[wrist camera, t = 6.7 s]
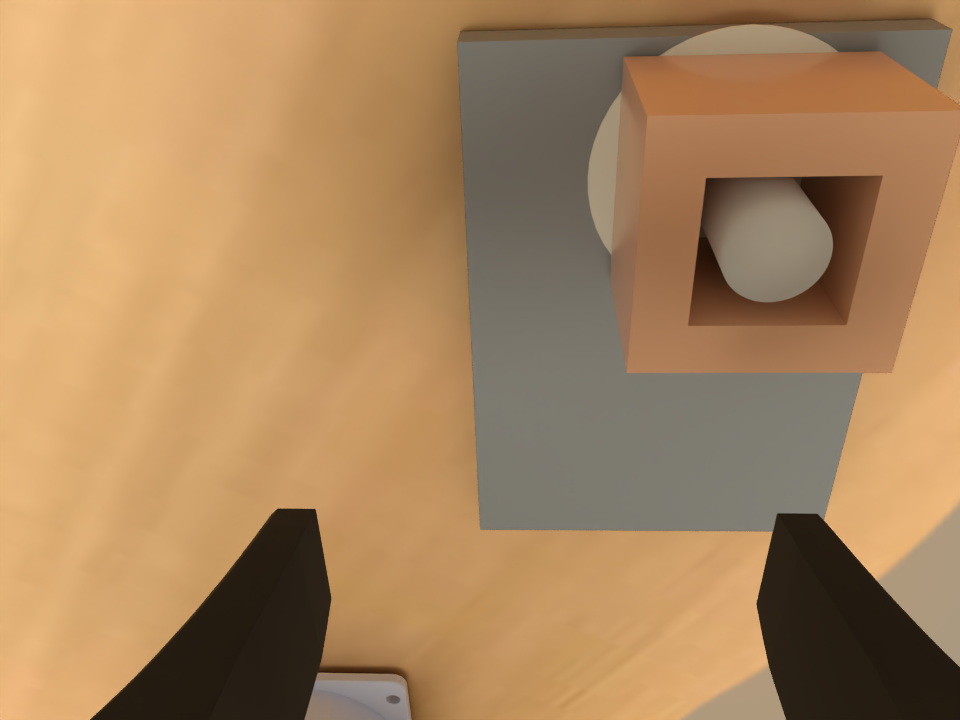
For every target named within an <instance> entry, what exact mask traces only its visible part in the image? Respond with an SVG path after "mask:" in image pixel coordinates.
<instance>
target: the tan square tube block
mask: <svg viewBox="0 0 960 720" xmlns="http://www.w3.org/2000/svg"><path fill="white" fill-rule="evenodd" d="M959 138H960V105H959V104H957V103H956V102H954V101H953V100H951V99H950V98H949V97H947V96H946V95H944V94H943V93H941V92H940V91H938V90H937V89H935V88H934V87H932V86H931V85H929V84H928V83H926V82H925V81H924V80H922V79H921V78H919V77H918V76H916V75H915V74H913V73H912V72H910V71H909V70H907V69H906V68H904V67H903V66H902V65H900V64H899V63H897V62H896V61H894V60H893V59H891V58H890V57H888V56H887V55H885V54H884V53H882V52H881V51H867V52H820V53H773V54H726V55H679V56H631V57H623V71H622V87H621V103H620V120H619V136H618V153H617V169H616V185H615V202H614V218H613V235H612V251H611V267H610V284H611V289H612V295H613V300H614V306H615V311H616V316H617V322H618V327H619V333H620V338H621V344H622V349H623V355H624V360H625V365H626V371H627V373H892V370H893V366H894V363H895V359H896V356H897V352H898V349H899V346H900V342H901V339H902V335H903V332H904V328H905V325H906V321H907V318H908V314H909V311H910V307H911V304H912V301H913V297H914V294H915V290H916V287H917V283H918V280H919V276H920V273H921V269H922V266H923V263H924V259H925V256H926V252H927V249H928V245H929V242H930V238H931V235H932V231H933V228H934V224H935V221H936V218H937V214H938V211H939V207H940V204H941V200H942V197H943V193H944V190H945V186H946V183H947V179H948V176H949V173H950V169H951V166H952V162H953V159H954V155H955V152H956V148H957V145H958V141H959ZM736 177H802V179H801V185H800V188H801V189H802V190H803V192H804V193H805V194H806V196H807V197H808V198H809V200H810V201H811V203H812V204H813V205H814V207H815V208H816V209H817V211H818V212H819V214H820V215H821V216H822V218H823V219H824V220H825V222H826V223H827V225H828V227H829V228H830V231H831V234H832V239H833V251H832V256H831V259H830V262H829V264H828V267H827V268H826V270H825V272H824V273H823V275H822V276H821V277H820V278H819V280H818V281H817V282H816V283H815V284H813V285H812V286H811V287H810V288H809V289H807V290H806V291H804V292H803V293H801V294H799V295H797V296H795V297H792V298H790V299H786V300H783V301H777V302H758V301H753V300H750V299H747V298H745V297H743V296H741V295H739V294H738V293H736V292H735V291H734V290H733V289H732V288H731V287H730V286H729V285H728V283H727V282H726V280H725V278H724V275H723V273H722V271H721V268H720V266H719V264H718V261H717V259H716V257H715V254H714V252H713V250H712V247H711V245H710V243H709V240H708V238H707V237H699V232H700V224H701V216H702V208H703V200H704V192H705V184H706V178H736Z"/></svg>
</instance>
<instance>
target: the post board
mask: <svg viewBox="0 0 960 720" xmlns="http://www.w3.org/2000/svg"><path fill="white" fill-rule="evenodd" d="M951 33H952V29H950V28H949V27H947V26H945V25H943V24H941V23H939V22H937V21H935V20H933V19H914V20H876V21H838V22H800V23H762V24H724V25H686V26H648V27H610V28H572V29H534V30H496V31H460V34H459V38H458V42H457V46H458V67H459V88H460V110H461V131H462V152H463V174H464V195H465V216H466V238H467V259H468V280H469V302H470V323H471V344H472V366H473V387H474V409H475V430H476V451H477V473H478V494H479V515H480V530H624V531H773V529H774V525H775V520H776V516H777V513H805V514H818V515H819V516H820V517H821V518H822V519H823V520H824V517H825V514H826V510H827V506H828V502H829V498H830V494H831V491H832V487H833V483H834V479H835V475H836V472H837V468H838V464H839V460H840V456H841V453H842V449H843V445H844V441H845V437H846V433H847V430H848V426H849V422H850V418H851V414H852V411H853V407H854V403H855V399H856V395H857V391H858V388H859V384H860V380H861V376H862V373H627V371H626V365H625V360H624V355H623V349H622V344H621V338H620V333H619V327H618V322H617V316H616V311H615V306H614V300H613V295H612V289H611V284H610V267H611V251H612V235H613V218H614V202H615V185H616V169H617V153H618V136H619V120H620V103H621V87H622V71H623V57H631V56H679V55H726V54H773V53H820V52H867V51H881V52H882V53H884V54H885V55H887V56H888V57H890V58H891V59H893V60H894V61H896V62H897V63H899V64H900V65H902V66H903V67H904V68H906V69H907V70H909V71H910V72H912V73H913V74H915V75H916V76H918V77H919V78H921V79H922V80H924V81H925V82H926V83H928V84H929V85H931V86H932V87H934V88H935V89H937V86H938V82H939V78H940V75H941V71H942V67H943V63H944V59H945V56H946V52H947V48H948V44H949V40H950V36H951ZM801 179H802V177H736V178H706V184H705V192H704V200H703V208H702V216H701V224H700V232H699V237H707V238H708V240H709V243H710V245H711V247H712V250H713V252H714V254H715V257H716V259H717V261H718V264H719V266H720V268H721V271H722V273H723V275H724V278H725V280H726V282H727V283H728V285H729V286H730V287H731V288H732V289H733V290H734V291H735V292H736V293H738V294H739V295H741V296H743V297H745V298H747V299H750V300H753V301H758V302H777V301H783V300H786V299H790V298H792V297H795V296H797V295H799V294H801V293H803V292H804V291H806V290H807V289H809V288H810V287H811V286H812V285H813V284H815V283H816V282H817V281H818V280H819V278H820V277H821V276H822V275H823V273H824V272H825V270H826V268H827V267H828V264H829V262H830V259H831V256H832V251H833V239H832V234H831V231H830V228H829V227H828V225H827V223H826V222H825V220H824V219H823V218H822V216H821V215H820V214H819V212H818V211H817V209H816V208H815V207H814V205H813V204H812V203H811V201H810V200H809V198H808V197H807V196H806V194H805V193H804V192H803V190H802V189H801V188H800V185H801Z"/></svg>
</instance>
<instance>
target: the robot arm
mask: <svg viewBox="0 0 960 720" xmlns="http://www.w3.org/2000/svg"><path fill="white" fill-rule="evenodd" d="M330 603H331V593H330V588H329V582H328V576H327V571H326V565H325V559H324V554H323V548H322V542H321V537H320V531H319V525H318V520H317V514H316V509H277V510H276V511H275V512H274V513H272V515H271V516H270V517H269V519H268V520H267V521H266V523H265V524H264V525H263V527H262V528H261V529H260V531H259V532H258V533H257V535H256V536H255V538H254V539H253V540H252V542H251V543H250V544H249V545H248V547H247V548H246V549H245V551H244V552H243V553H242V555H241V556H240V557H239V559H238V560H237V561H236V562H235V564H234V565H233V566H232V568H231V569H230V570H229V571H228V573H227V574H226V575H225V576H224V578H223V579H222V580H221V581H220V582H219V584H218V585H217V586H216V587H215V589H214V590H213V591H212V592H211V593H210V595H209V596H208V597H207V598H206V599H205V601H204V602H203V603H202V604H201V606H200V607H199V608H198V609H197V610H196V612H195V613H194V614H193V615H192V616H191V617H190V618H189V620H188V621H187V622H186V623H185V624H184V625H183V626H182V627H181V628H180V630H179V631H178V632H177V633H176V634H175V635H174V636H173V637H172V638H171V639H170V641H169V642H168V643H167V644H166V645H165V646H164V647H163V648H162V649H161V650H160V652H159V653H158V654H157V655H156V656H155V657H154V658H153V659H152V660H151V661H150V662H149V663H148V664H147V665H146V666H145V667H144V668H143V669H142V670H141V671H140V672H139V673H138V674H137V676H136V677H135V678H134V679H132V680H131V681H130V682H129V683H128V684H127V685H126V686H125V687H124V688H123V689H122V690H121V691H120V692H119V693H118V694H117V695H116V696H115V697H114V698H113V699H112V700H111V701H110V702H109V703H108V704H106V705H105V706H104V707H103V708H102V709H101V710H100V711H99V712H98V713H97V714H96V715H95V716H93V717H92V718H91V719H90V720H412V719H411V711H410V703H409V696H408V688H407V682H406V680H405V679H404V678H403V677H402V676H399V675H397V674H370V673H318V670H319V666H320V663H321V659H322V653H323V647H324V641H325V636H326V630H327V623H328V616H329V610H330ZM757 609H758V614H759V620H760V625H761V630H762V635H763V640H764V645H765V650H766V654H767V659H768V664H769V668H770V671H771V674H772V677H773V681H774V684H775V687H776V690H777V693H778V696H779V699H780V702H781V705H782V708H783V711H784V714H785V717H786V720H960V667H959V666H958V665H957V664H956V663H955V662H954V661H953V660H952V659H951V658H950V657H949V656H948V655H947V654H945V653H944V651H943V650H942V649H941V648H940V647H939V646H938V645H937V644H935V642H934V641H933V640H932V639H931V638H930V637H929V636H928V635H927V634H926V633H925V632H924V631H923V630H922V629H921V628H920V627H919V626H918V625H917V624H916V623H915V622H914V621H913V620H912V618H910V616H909V615H908V614H907V613H906V612H905V611H904V610H903V609H902V608H901V607H900V606H899V605H898V604H897V603H896V602H895V601H894V600H893V598H892V597H891V596H890V595H889V594H888V593H887V592H886V591H885V590H884V589H883V587H882V586H881V585H880V584H879V583H878V582H877V581H876V580H875V578H874V577H873V576H872V575H871V574H870V573H869V572H868V571H867V569H866V568H865V567H864V566H863V565H862V564H861V563H860V561H859V560H858V559H857V558H856V557H855V556H854V555H853V553H852V552H851V551H850V550H849V549H848V548H847V547H846V545H845V544H844V543H843V542H842V541H841V540H840V538H839V537H838V536H837V535H836V534H835V533H834V531H833V530H832V529H831V528H830V527H829V526H828V525H827V523H826V522H825V521H824V520H823V519H822V518H821V517H820V516H819V515H818V514H805V513H777V516H776V520H775V525H774V529H773V534H772V538H771V542H770V547H769V551H768V556H767V560H766V564H765V569H764V573H763V578H762V582H761V587H760V591H759V595H758V600H757Z"/></svg>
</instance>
